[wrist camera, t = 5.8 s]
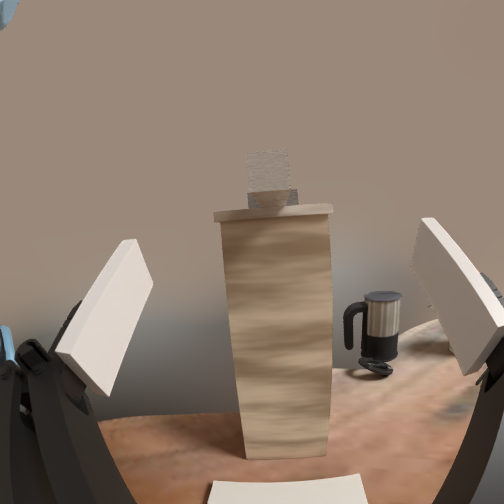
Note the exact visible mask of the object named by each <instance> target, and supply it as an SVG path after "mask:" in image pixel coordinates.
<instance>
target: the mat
mask: <svg viewBox="0 0 504 504" xmlns="http://www.w3.org/2000/svg"><path fill="white" fill-rule="evenodd" d="M207 504H368V503H367V499H366V496H365V492H364V488H363V485H362V481H361V478H360V474H354V475H349V476H343V477H336V478H329V479H320V480H310V481H298V482H279V483H244V482H224V481H214V482H213V486H212V489H211V493H210V496H209V500H208V503H207Z"/></svg>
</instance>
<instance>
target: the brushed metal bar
mask: <svg viewBox="0 0 504 504" xmlns="http://www.w3.org/2000/svg"><path fill="white" fill-rule="evenodd" d="M246 157H247V169H248V182H249V193H248V206H249V209H254V208H266V207H279V206H293V205H298V194H297V189H296V190H295V189H294V190H291V184H290V173H289V163H288V154H287V150H273V151H261V152H250V153H246Z"/></svg>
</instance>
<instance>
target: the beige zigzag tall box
mask: <svg viewBox="0 0 504 504" xmlns="http://www.w3.org/2000/svg"><path fill="white" fill-rule="evenodd" d="M332 213H334V212H333V203H325V204H310V205H293V206H279V207H266V208H254V209H242V210H231V211H221V212H214V221H215V222H219V223H220V224H221V237H222V249H223V260H224V272H225V283H226V293H227V303H228V313H229V323H230V332H231V341H232V350H233V359H234V367H235V376H236V384H237V392H238V400H239V408H240V416H241V423H242V430H243V437H244V444H245V451H246V458H247V459H248V460H267V459H292V458H306V457H317V456H326V453H327V443H328V431H329V418H330V403H331V383H332V347H333V346H332V345H333V343H332V342H333V341H332V340H333V319H332V318H333V310H332V274H331V252H330V238H329V237H330V235H329V222H328V214H332Z"/></svg>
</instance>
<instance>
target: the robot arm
mask: <svg viewBox="0 0 504 504" xmlns="http://www.w3.org/2000/svg"><path fill="white" fill-rule="evenodd" d="M19 1H20V0H0V31H1V30H3V29H4V28H5V27H6V26H7V25H8V24H9V22H10V21H11V19H12V17H13V14H14V12H15V9H16V6H17V4H18V3H19ZM410 267H411V269H412V271H413V272H414V274H415V276H416V278H417V280H418V281H419V283H420V285H421V287H422V289H423V290H424V292H425V294H426V296H427V298H428V299H429V302H430V303H431V305H432V307H433V309H434V311H435V313H436V315H437V317H438V319H439V321H440V323H441V325H442V327H443V330H444V332H445V334H446V336H447V338H448V340H449V343H450V345H451V347H452V349H453V352H454V354H455V356H456V359H457V361H458V363H459V366H460V368H461V371H462V373H463V376H466V375H469V374H472V373H474V372H477V371H479V369H480V368H481V367H482V365H483V364H484V363H485V362H486V364H487V367H488V368H487V369H486V371H485V372H484V373H483V374H482V375H481V377H480V378H479V379H478V380H477V382H476V384H475V385H478V384H479V383H480V382H481V381H482V380H483V381H482V385H481V386H480V387H481V388H480V392H479V396H478V399H477V402H476V406H475V409H474V412H473V415H472V418H471V421H470V424H469V427H468V429H467V432H466V435H465V437H464V440H463V442H462V445H461V447H460V449H459V452H458V454H457V456H456V459H455V461H454V463H453V465H452V467H451V469H450V471H449V473H448V475H447V477H446V479H445V481H444V483H443V485H442V487H441V489H440V491H439V493H438V494H437V496H436V498H435V500H434V501H433V503H432V504H504V298H502V295H501V293H500V292H499V291H498V290H497V287H496V286H495V285H494V283H493V282H492V281H491V280H490V279H489V278H488V277H487V276H486V275H484V274H483V273H479V272H478V271H477V269H476V268H475V267H474V265H473V264H472V263H471V261H470V260H469V259H468V258H467V256H466V255H465V254H464V253H463V252H462V250H461V249H460V248H459V246H458V245H457V244H456V243H455V242H454V240H453V239H452V238H451V237H450V236H449V235H448V233H447V232H446V231H445V230H444V229H443V228H442V227H441V225H440V224H439V223H438V222H437V221H436V220H435V219H434V218H420V223H419V229H418V233H417V238H416V243H415V247H414V252H413V256H412V260H411V264H410ZM152 286H153V281H152V279H151V276H150V274H149V271H148V269H147V266H146V264H145V261H144V259H143V256H142V253H141V251H140V248H139V245H138V243H137V240H136V239H130V240H123V241H122V242H121V243H120V245H119V246H118V248H117V249H116V251H115V252H114V254H113V255H112V257H111V258H110V259H109V261H108V262H107V264H106V265H105V267H104V268H103V270H102V272H101V273H100V274H99V276H98V278H97V279H96V281H95V282H94V284H93V285H92V287H91V288H90V290H89V292H88V293H87V295H86V297H85V298H84V300H83V301H80V302H79V303H78V304H77V305H76V306H75V307H74V308H73V309H72V311H71V312H70V314H69V315H68V317H67V320H66V321H65V322H64V324H63V327H62V328H61V329H60V331H59V333H58V335H57V337H56V338H55V340H54V342H53V344H52V346H51V348H50V350H49V351H48V353H47V352H46V351H45V349H44V348H43V347H42V346H41V344H40V343H39V342H38V341H37V340H35V339H29V340H27V341H25V342H23V343H22V344H21V345H20V346H19V348H18V349H17V351H16V353H15V351H14V345H13V340H12V335H11V331H10V329H9V327H8V326H2V325H0V504H137V503H136V502H135V500H134V498H133V497H132V495H131V493H130V491H129V489H128V488H127V486H126V484H125V482H124V480H123V478H122V476H121V475H120V473H119V471H118V469H117V467H116V465H115V463H114V460H113V458H112V456H111V454H110V452H109V450H108V447H107V445H106V443H105V441H104V438H103V436H102V433H101V431H100V429H99V426H98V423H97V421H96V418H95V416H94V413H93V410H92V408H91V404H90V402H89V399H88V396H87V395H86V393H85V392H84V390H85V388H86V386H87V387H88V388H89V389H90V390H91V391H92V392H93V393H94V394H98V395H102V396H107V397H109V396H110V393H111V390H112V387H113V385H114V381H115V379H116V376H117V373H118V370H119V368H120V365H121V362H122V360H123V357H124V354H125V352H126V349H127V346H128V344H129V341H130V339H131V336H132V334H133V331H134V329H135V326H136V324H137V322H138V319H139V317H140V314H141V312H142V310H143V307H144V305H145V302H146V300H147V298H148V296H149V293H150V291H151V289H152ZM17 363H18V364H17ZM18 365H19V366H20V367H18ZM24 410H26V413H25V414H24V413H22V411H24Z"/></svg>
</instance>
